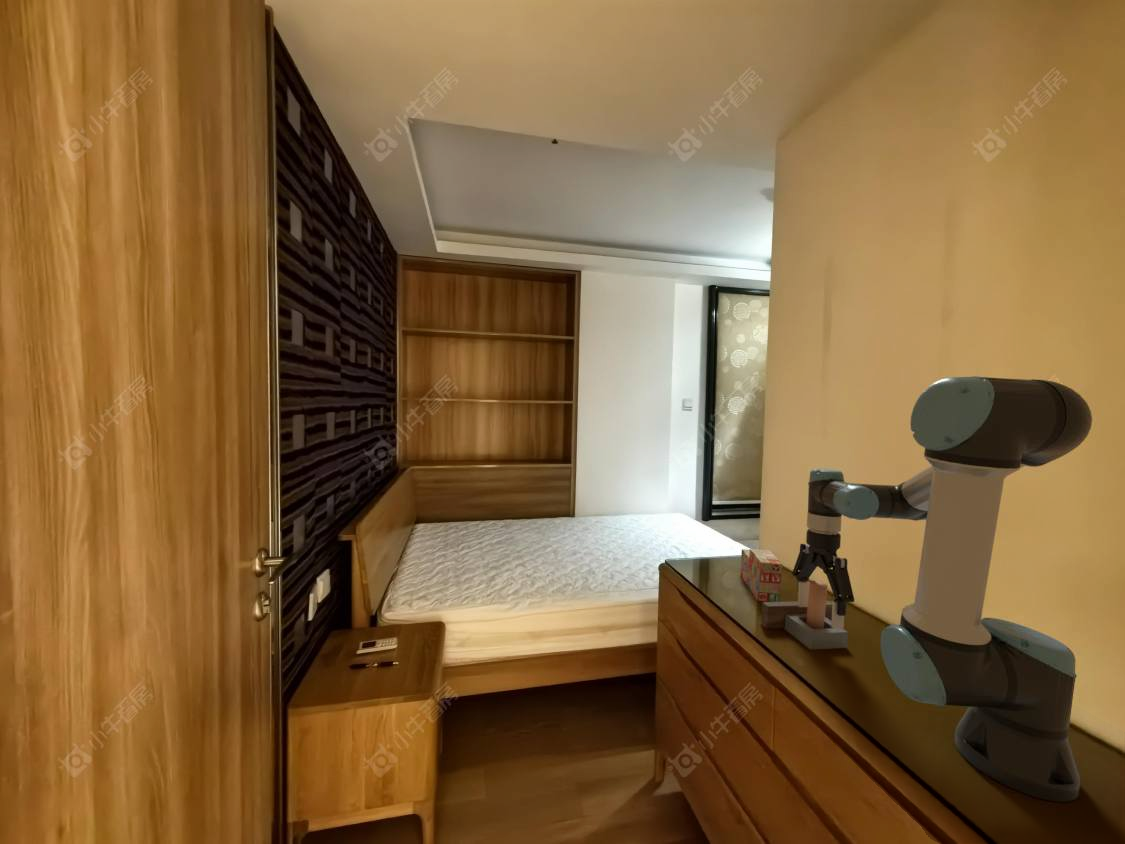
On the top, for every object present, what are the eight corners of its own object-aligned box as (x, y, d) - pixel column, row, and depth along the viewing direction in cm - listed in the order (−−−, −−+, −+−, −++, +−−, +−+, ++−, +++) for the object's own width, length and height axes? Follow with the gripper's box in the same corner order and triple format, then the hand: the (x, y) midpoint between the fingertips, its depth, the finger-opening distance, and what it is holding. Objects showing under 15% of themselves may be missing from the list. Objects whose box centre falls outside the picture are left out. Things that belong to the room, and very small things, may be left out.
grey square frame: (846, 647, 116) (848, 632, 115) (810, 649, 114) (811, 633, 114) (818, 627, 125) (819, 613, 125) (784, 629, 124) (785, 614, 124)
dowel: (820, 642, 117) (825, 588, 117) (803, 636, 120) (808, 583, 119) (824, 637, 120) (829, 583, 120) (807, 631, 123) (811, 579, 122)
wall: (834, 626, 127) (835, 604, 126) (766, 628, 124) (768, 606, 123) (827, 621, 129) (829, 600, 129) (761, 624, 126) (762, 602, 126)
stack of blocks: (739, 575, 162) (742, 540, 161) (758, 576, 161) (761, 541, 160) (757, 601, 141) (760, 561, 140) (779, 603, 140) (782, 563, 139)
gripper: (875, 543, 107) (870, 638, 107) (805, 519, 131) (801, 597, 131) (846, 544, 106) (841, 639, 106) (780, 519, 129) (776, 598, 130)
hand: (819, 616), depth 118 cm, fingers open, 12 cm apart
